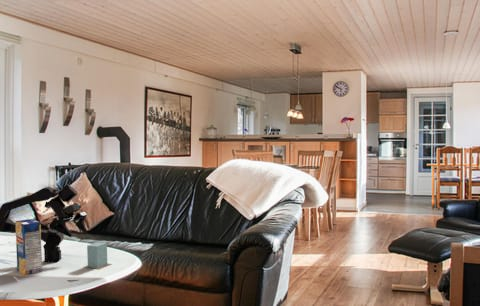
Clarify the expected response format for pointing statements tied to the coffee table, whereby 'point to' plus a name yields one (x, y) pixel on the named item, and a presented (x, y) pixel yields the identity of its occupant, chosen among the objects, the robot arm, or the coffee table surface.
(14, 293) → the coffee table surface
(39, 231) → the beverage box
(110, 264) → the coaster
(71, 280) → the mat
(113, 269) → the coffee table surface
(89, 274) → the coffee table surface
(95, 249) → the pale teal block
